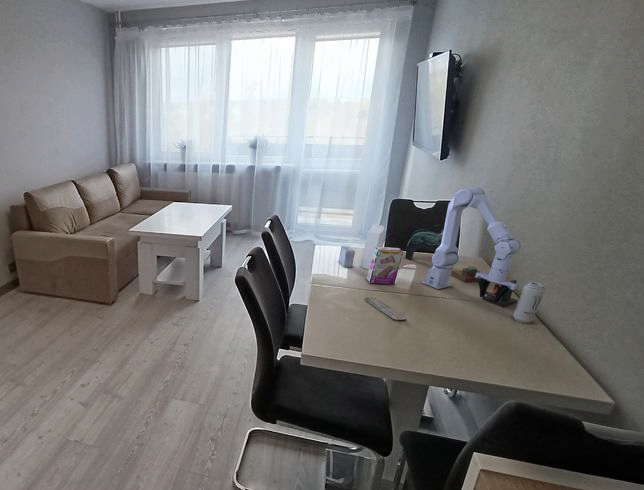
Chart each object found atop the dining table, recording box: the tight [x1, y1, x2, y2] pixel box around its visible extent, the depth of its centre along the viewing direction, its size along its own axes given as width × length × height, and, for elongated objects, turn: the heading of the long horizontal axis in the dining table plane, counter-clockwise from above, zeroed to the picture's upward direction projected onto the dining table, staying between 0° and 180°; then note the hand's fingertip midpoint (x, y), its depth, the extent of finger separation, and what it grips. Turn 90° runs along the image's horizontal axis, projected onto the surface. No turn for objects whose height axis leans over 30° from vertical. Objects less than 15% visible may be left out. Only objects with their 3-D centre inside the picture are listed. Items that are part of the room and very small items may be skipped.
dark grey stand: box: [482, 279, 518, 308], centre depth 172 cm, size 10×8×10 cm
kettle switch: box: [484, 278, 512, 298], centre depth 170 cm, size 11×5×2 cm, turn 115°
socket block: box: [450, 267, 481, 283], centre depth 196 cm, size 12×9×4 cm
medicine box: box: [338, 245, 356, 268], centre depth 208 cm, size 8×4×9 cm, turn 179°
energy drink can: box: [512, 281, 546, 324], centre depth 155 cm, size 6×6×15 cm
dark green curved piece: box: [404, 224, 444, 260], centre depth 213 cm, size 20×6×20 cm, turn 58°
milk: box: [360, 223, 387, 271], centre depth 202 cm, size 6×6×22 cm
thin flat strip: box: [365, 297, 406, 321], centre depth 164 cm, size 5×20×1 cm, turn 11°
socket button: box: [466, 265, 478, 272], centre depth 195 cm, size 4×4×2 cm
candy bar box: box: [366, 246, 404, 286], centre depth 186 cm, size 11×5×16 cm, turn 84°
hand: (489, 299), depth 170 cm, fingers closed on kettle switch, 5 cm apart
